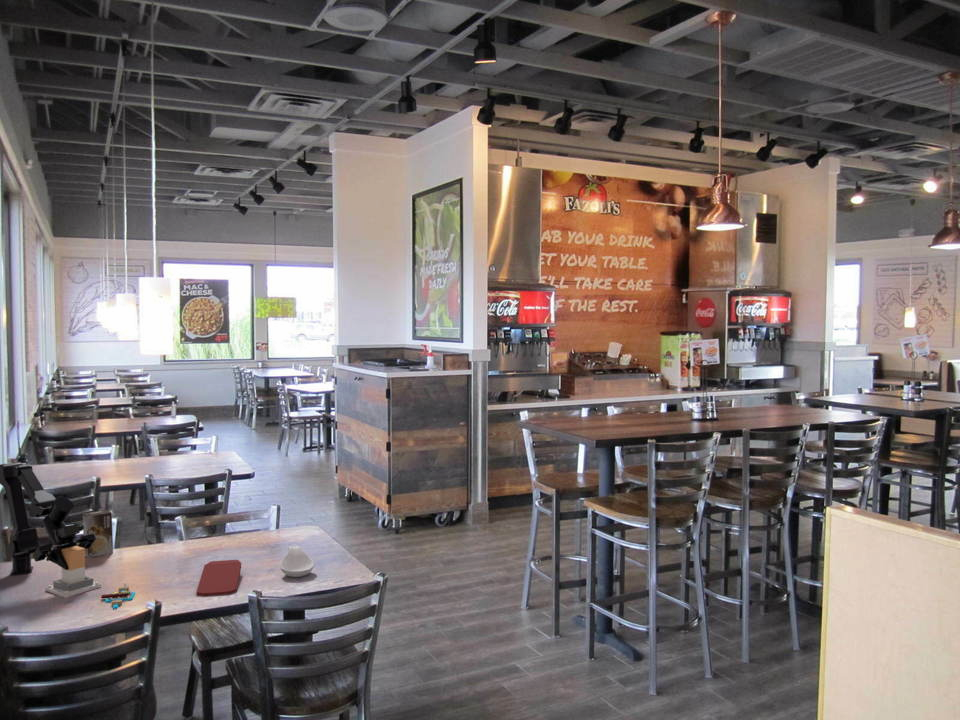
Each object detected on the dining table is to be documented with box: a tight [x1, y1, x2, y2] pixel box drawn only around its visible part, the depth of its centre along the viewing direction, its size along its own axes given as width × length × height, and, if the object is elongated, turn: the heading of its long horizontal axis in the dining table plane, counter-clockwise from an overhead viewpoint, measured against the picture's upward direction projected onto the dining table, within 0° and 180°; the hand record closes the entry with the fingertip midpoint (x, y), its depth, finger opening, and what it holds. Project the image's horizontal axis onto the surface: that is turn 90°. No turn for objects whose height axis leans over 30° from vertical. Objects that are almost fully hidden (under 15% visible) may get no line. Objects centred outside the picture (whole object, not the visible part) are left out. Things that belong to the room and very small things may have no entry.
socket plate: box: [44, 575, 102, 598], centre depth 246 cm, size 12×12×3 cm
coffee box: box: [82, 509, 114, 558], centre depth 285 cm, size 9×6×16 cm
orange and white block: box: [61, 546, 86, 585], centre depth 246 cm, size 5×5×12 cm
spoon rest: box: [279, 545, 315, 578], centre depth 267 cm, size 24×12×7 cm, turn 20°
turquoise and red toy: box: [100, 581, 136, 610], centre depth 238 cm, size 20×5×9 cm
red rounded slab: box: [195, 559, 242, 597], centre depth 253 cm, size 12×5×26 cm
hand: (75, 567), depth 245 cm, fingers closed on orange and white block, 5 cm apart
